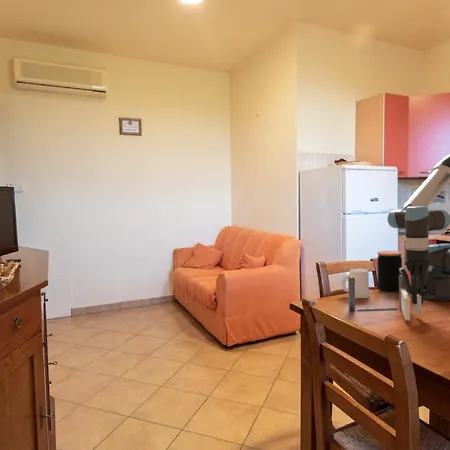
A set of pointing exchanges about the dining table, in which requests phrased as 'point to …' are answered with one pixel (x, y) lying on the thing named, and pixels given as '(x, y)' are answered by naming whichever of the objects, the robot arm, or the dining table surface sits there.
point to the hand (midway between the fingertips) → (417, 312)
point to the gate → (405, 304)
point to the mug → (358, 282)
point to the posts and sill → (352, 308)
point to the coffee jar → (389, 270)
